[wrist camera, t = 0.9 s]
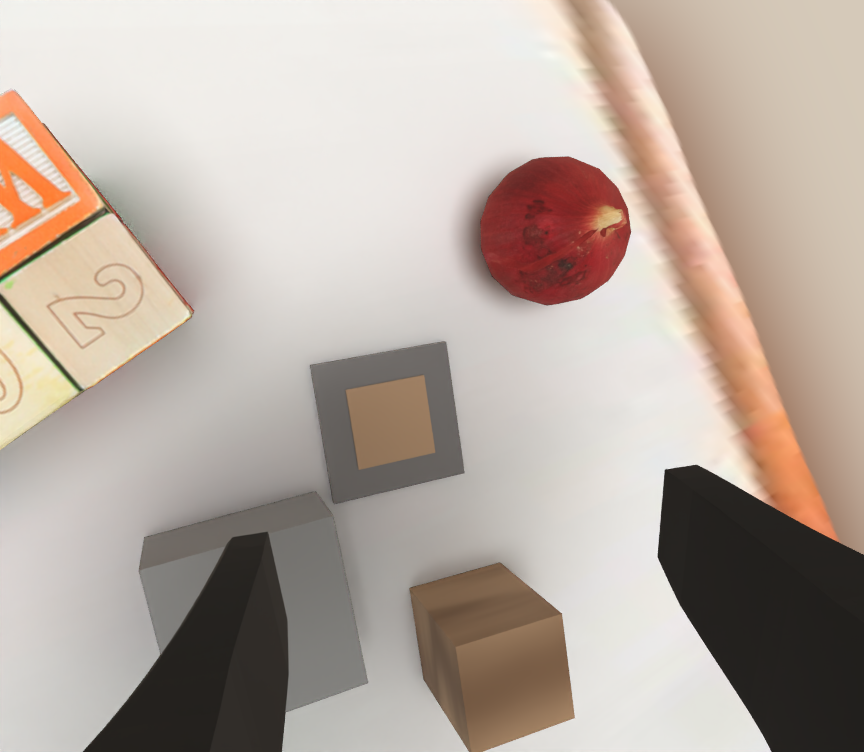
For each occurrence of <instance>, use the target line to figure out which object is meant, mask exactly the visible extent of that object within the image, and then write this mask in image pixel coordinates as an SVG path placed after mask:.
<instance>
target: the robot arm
mask: <svg viewBox="0 0 864 752" xmlns="http://www.w3.org/2000/svg"><path fill="white" fill-rule="evenodd" d="M658 559H659V561H660V563H661V566H662V568H663V570H664V572H665V574H666V577H667V579H668V581H669V583H670V585H671V587H672V589H673V591H674V593H675V595H676V598H677V600H678V602H679V604H680V606H681V607H682V609H683V610H684V612H685V614H686V615H687V617H688V618H689V620H690V622H691V623H692V625H693V626H694V628H695V629H696V631H697V632H698V634H699V636H700V637H701V639H702V640H703V642H704V643H705V645H706V646H707V648H708V650H709V651H710V653H711V654H712V656H713V657H714V659H715V660H716V662H717V663H718V665H719V666H720V668H721V669H722V671H723V673H724V674H725V676H726V677H727V679H728V680H729V682H730V683H731V685H732V686H733V688H734V689H735V691H736V692H737V694H738V696H739V697H740V699H741V700H742V702H743V703H744V705H745V706H746V708H747V709H748V711H749V713H750V714H751V716H752V718H753V719H754V721H755V723H756V724H757V726H758V728H759V729H760V731H761V733H762V734H763V736H764V738H765V740H766V742H767V744H768V746H769V748H770V750H771V751H772V752H864V555H863V554H861V553H859V552H857V551H855V550H853V549H851V548H849V547H847V546H845V545H843V544H841V543H839V542H837V541H835V540H833V539H831V538H829V537H827V536H825V535H823V534H821V533H819V532H817V531H815V530H813V529H811V528H809V527H807V526H806V525H804V524H802V523H800V522H798V521H796V520H795V519H793V518H791V517H789V516H787V515H786V514H784V513H782V512H780V511H778V510H777V509H775V508H773V507H771V506H770V505H768V504H766V503H764V502H762V501H761V500H759V499H757V498H756V497H754V496H752V495H750V494H749V493H747V492H745V491H743V490H742V489H740V488H738V487H736V486H735V485H733V484H731V483H729V482H728V481H726V480H724V479H722V478H721V477H719V476H717V475H715V474H714V473H712V472H710V471H708V470H706V469H704V468H702V467H700V466H698V465H692V466H685V467H679V468H672V469H666V470H665V474H664V486H663V498H662V510H661V522H660V534H659V546H658ZM288 678H289V656H288V619H287V615H286V610H285V606H284V601H283V597H282V592H281V588H280V583H279V579H278V574H277V570H276V565H275V561H274V556H273V552H272V547H271V543H270V538H269V534H268V532H262V533H255V534H249V535H243V536H236V537H232V538H231V539H230V541H229V542H228V543H227V545H226V546H225V548H224V550H223V552H222V554H221V556H220V558H219V560H218V562H217V564H216V566H215V567H214V569H213V571H212V573H211V575H210V577H209V578H208V580H207V582H206V584H205V585H204V587H203V589H202V591H201V592H200V594H199V596H198V598H197V599H196V601H195V602H194V604H193V606H192V607H191V609H190V611H189V612H188V614H187V615H186V617H185V619H184V620H183V622H182V624H181V625H180V627H179V628H178V630H177V631H176V633H175V634H174V636H173V638H172V639H171V640H170V642H169V643H168V645H167V646H166V648H165V649H164V650H163V652H162V653H161V655H160V656H159V658H158V659H157V661H156V662H155V663H154V665H153V666H152V668H151V669H150V671H149V672H148V673H147V675H146V676H145V678H144V679H143V680H142V681H141V683H140V684H139V685H138V687H137V688H136V689H135V691H134V692H133V693H132V695H131V696H130V697H129V698H128V700H127V701H126V702H125V703H124V705H123V706H122V707H121V708H120V710H119V711H118V712H117V713H116V714H115V716H114V717H113V718H112V719H111V720H110V722H109V723H108V724H107V725H106V726H105V728H104V729H103V730H102V731H101V732H100V733H99V734H98V735H97V737H96V738H95V739H94V740H93V741H92V742H91V743H90V744H89V745H88V747H87V748H86V749H85V750H84V751H83V752H282V744H283V733H284V723H285V712H286V701H287V690H288Z"/></svg>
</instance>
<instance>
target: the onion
mask: <svg viewBox="0 0 864 752" xmlns="http://www.w3.org/2000/svg"><path fill="white" fill-rule="evenodd" d="M480 224H481V250H482V253H483V255H484V258H485V260H486V263H487V265H488V268H489V270H490V273H491V275H492V277H493V278H494V279H495V280H497V281H498V282H499V283H500V284H501V285H502V286H503V287H504V288H505V289H506V290H507V291H508V292H510V293H511V294H512V295H514V296H517V297H519V298H523V299H526V300H530V301H533V302H536V303H540V304H543V305H553V304H559V303H564V302H568V301H573V300H578V299H581V298H583V297H585V296H587V295H589V294H590V293H592V292H593V291H594V290H596V289H597V288H599V287H600V286H602V285H603V284H604V283H606V282H607V281H608V280H609V279H610V278H611V277H612V275H613V274H614V272H615V270H616V269H617V267H618V266H619V264H620V262H621V261H622V259H623V258H624V256H625V252H626V249H627V245H628V241H629V238H630V234H631V229H630V221H629V213H628V208H627V206H626V204H625V202H624V200H623V198H622V196H621V193H620V191H619V189H618V188H617V186H616V185H615V184H614V183H613V182H612V181H611V180H610V179H609V178H608V177H607V176H606V175H605V174H604V173H603V172H602V171H601V170H600V169H598V168H596V167H593V166H591V165H589V164H586V163H584V162H581V161H579V160H577V159H574V158H571V157H544V158H537V159H533V160H531V161H529V162H527V163H525V164H524V165H522V166H520V167H518V168H517V169H515V170H513V171H511V172H510V173H509V174H508V175H507V176H506V177H505V178H504V179H503V180H502V181H501V182H500V184H499V185H498V186H497V187H496V189H495V190H494V191H493V192H492V194H491V195H490V196H489V197H488V200H487V203H486V206H485V209H484V212H483V215H482V218H481V221H480Z"/></svg>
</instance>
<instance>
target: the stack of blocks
mask: <svg viewBox="0 0 864 752" xmlns="http://www.w3.org/2000/svg"><path fill="white" fill-rule="evenodd" d="M193 313H194V310H193V309H192V308H191V306H190V305H189V304H188V303H187V302H186V301H185V299H184V298H183V297H182V296H181V294H180V293H179V292H178V291H177V289H176V288H175V287H174V286H173V284H172V283H171V282H170V281H169V280H168V278H167V277H166V276H165V274H164V273H163V272H162V271H161V269H160V268H159V267H158V266H157V264H156V263H155V262H154V260H153V259H152V258H151V256H150V255H149V254H148V253H147V251H146V250H145V249H144V247H143V246H142V245H141V244H140V242H139V241H138V240H137V239H136V237H135V236H134V235H133V233H132V232H131V231H130V230H129V228H128V227H127V226H126V225H125V224H124V223H123V221H122V220H121V218H120V216H119V215H118V214H117V213H116V212H115V210H114V209H113V208H112V206H111V205H110V204H109V203H108V202H107V200H106V199H105V198H104V197H103V195H102V194H101V193H100V192H99V190H98V189H97V188H96V187H95V186H94V184H93V183H92V182H91V181H90V180H89V178H88V177H87V176H86V175H85V173H84V172H83V171H82V170H81V169H80V167H79V166H78V165H77V164H76V163H75V161H74V160H73V159H72V158H71V156H70V155H69V154H68V153H67V151H66V150H65V149H64V148H63V147H62V145H61V144H60V143H59V142H58V140H57V139H56V138H55V137H54V135H53V134H52V133H51V132H50V130H49V129H48V128H47V126H46V125H45V124H44V123H41V121H40V120H39V119H38V117H37V116H36V115H35V114H34V112H33V111H32V110H31V109H30V107H29V106H28V105H27V104H26V102H25V101H24V100H23V99H22V98H21V96H20V95H19V94H18V93H17V92H16V91H15V90H13V89H9V90H7V91H6V92H4V93H2V94H0V450H1V449H2V448H4V447H5V446H6V445H8V444H9V443H11V442H12V441H14V440H15V439H16V438H18V437H19V436H21V435H22V434H23V433H25V432H26V431H28V430H29V429H31V428H32V427H33V426H35V425H36V424H38V423H39V422H41V421H42V420H43V419H45V418H46V417H48V416H49V415H50V414H52V413H53V412H55V411H56V410H58V409H59V408H61V407H62V406H63V405H65V404H66V403H68V402H69V401H71V400H72V399H74V398H75V397H76V396H78V395H79V394H81V393H82V392H84V391H85V390H87V389H89V388H91V387H93V386H94V385H96V384H97V383H98V382H100V381H101V380H103V379H104V378H106V377H107V376H108V375H110V374H111V373H113V372H114V371H116V370H117V369H118V368H120V367H121V366H123V365H124V364H126V363H127V362H129V361H130V360H131V359H133V358H134V357H136V356H137V355H139V354H140V353H142V352H143V351H144V350H146V349H147V348H149V347H150V346H152V345H153V344H155V343H156V342H158V341H159V340H160V339H162V338H163V337H165V336H166V335H168V334H169V333H170V332H172V331H173V330H175V329H176V328H177V327H179V326H180V325H182V324H183V323H185V322H186V321H187V320H189V319H190V318H191V317H192V314H193Z"/></svg>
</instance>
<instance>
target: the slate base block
mask: <svg viewBox="0 0 864 752" xmlns="http://www.w3.org/2000/svg"><path fill="white" fill-rule="evenodd" d="M262 532H268V534H269V538H270V543H271V547H272V552H273V556H274V561H275V565H276V570H277V574H278V579H279V583H280V588H281V592H282V597H283V601H284V606H285V610H286V615H287V619H288V656H289V678H288V690H287V701H286V712H288V711H291V710H294V709H297V708H299V707H302V706H305V705H308V704H311V703H313V702H316V701H319V700H322V699H325V698H327V697H330V696H333V695H336V694H339V693H341V692H344V691H347V690H350V689H353V688H355V687H358V686H361V685H364V684H367V683H368V679H367V675H366V670H365V665H364V660H363V656H362V651H361V646H360V641H359V637H358V632H357V627H356V622H355V618H354V613H353V608H352V603H351V599H350V594H349V589H348V584H347V580H346V575H345V570H344V565H343V561H342V556H341V551H340V546H339V541H338V537H337V532H336V527H335V522H334V518H333V515H332V513H331V512H330V511H329V509H328V508H327V506H326V505H325V503H324V502H323V500H322V499H321V498H320V496H319V495H318V493H317V492H316V491H314V492H311V493H307V494H303V495H300V496H296V497H292V498H288V499H285V500H281V501H277V502H274V503H270V504H266V505H262V506H259V507H255V508H251V509H248V510H244V511H240V512H236V513H233V514H229V515H225V516H222V517H218V518H214V519H211V520H207V521H203V522H199V523H196V524H192V525H188V526H185V527H181V528H177V529H173V530H170V531H166V532H162V533H159V534H155V535H151V536H147V537H144V542H143V548H142V554H141V560H140V566H139V573H140V577H141V581H142V585H143V589H144V592H145V596H146V600H147V604H148V608H149V612H150V616H151V619H152V623H153V627H154V631H155V635H156V639H157V643H158V646H159V650H160V654H161V653H162V652H163V650H164V649H165V648H166V646H167V645H168V643H169V642H170V640H171V639H172V638H173V636H174V634H175V633H176V631H177V630H178V628H179V627H180V625H181V624H182V622H183V620H184V619H185V617H186V615H187V614H188V612H189V611H190V609H191V607H192V606H193V604H194V602H195V601H196V599H197V598H198V596H199V594H200V592H201V591H202V589H203V587H204V585H205V584H206V582H207V580H208V578H209V577H210V575H211V573H212V571H213V569H214V567H215V566H216V564H217V562H218V560H219V558H220V556H221V554H222V552H223V550H224V548H225V546H226V545H227V543H228V542H229V541H230V539H231V538H232V537H236V536H243V535H249V534H255V533H262Z"/></svg>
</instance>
